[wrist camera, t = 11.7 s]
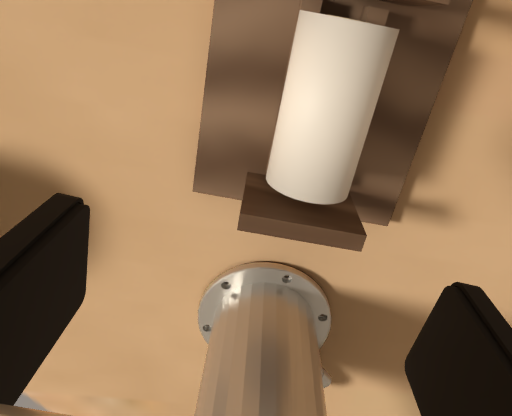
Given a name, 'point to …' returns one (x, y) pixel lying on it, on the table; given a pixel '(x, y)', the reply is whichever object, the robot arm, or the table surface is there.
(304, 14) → the paper towel roll
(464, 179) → the table surface
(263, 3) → the roll holder
